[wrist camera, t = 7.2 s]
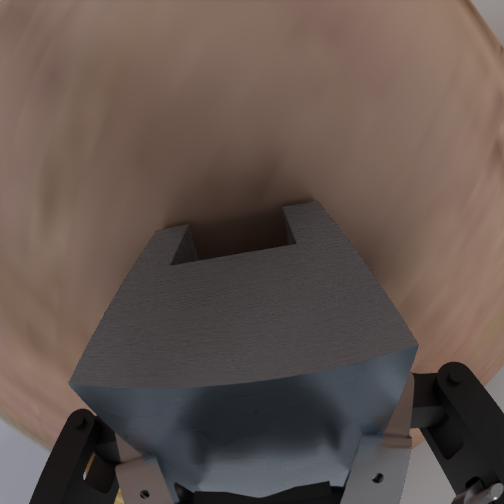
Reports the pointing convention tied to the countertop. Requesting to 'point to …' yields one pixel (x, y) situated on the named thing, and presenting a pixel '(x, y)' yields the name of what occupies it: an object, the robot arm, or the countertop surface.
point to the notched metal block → (249, 358)
